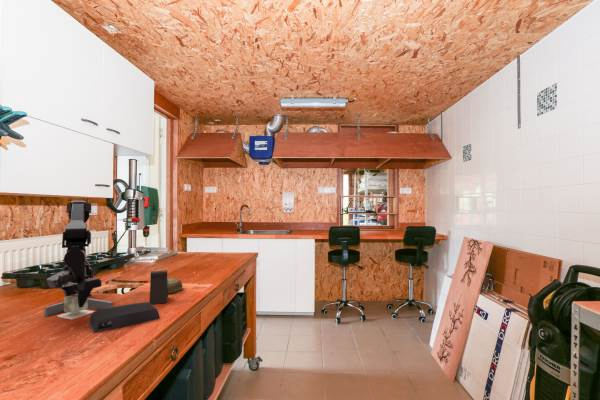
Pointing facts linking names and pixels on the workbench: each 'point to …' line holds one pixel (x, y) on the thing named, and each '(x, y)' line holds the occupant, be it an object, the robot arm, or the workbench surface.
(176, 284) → the weight
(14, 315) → the workbench surface
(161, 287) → the phone stand
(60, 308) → the l-shaped corner bracket
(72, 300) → the cube
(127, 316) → the external hard drive
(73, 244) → the robot arm
